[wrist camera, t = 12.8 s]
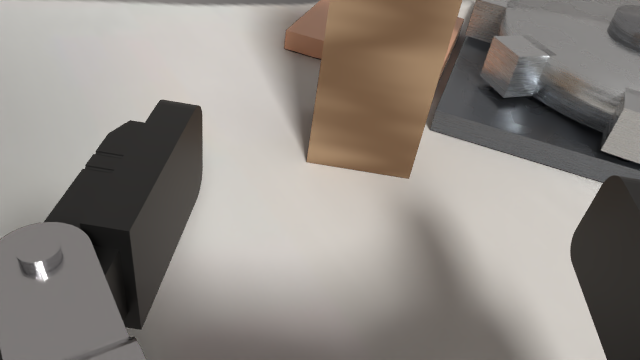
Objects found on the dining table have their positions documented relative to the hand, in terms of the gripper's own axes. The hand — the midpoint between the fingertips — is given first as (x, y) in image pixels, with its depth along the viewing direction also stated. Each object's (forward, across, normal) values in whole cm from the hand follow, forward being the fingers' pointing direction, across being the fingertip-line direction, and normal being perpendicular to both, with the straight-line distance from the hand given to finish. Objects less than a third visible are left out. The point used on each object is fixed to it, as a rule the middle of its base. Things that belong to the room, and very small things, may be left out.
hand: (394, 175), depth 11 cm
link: (+10, 0, +6) cm, 12 cm away
